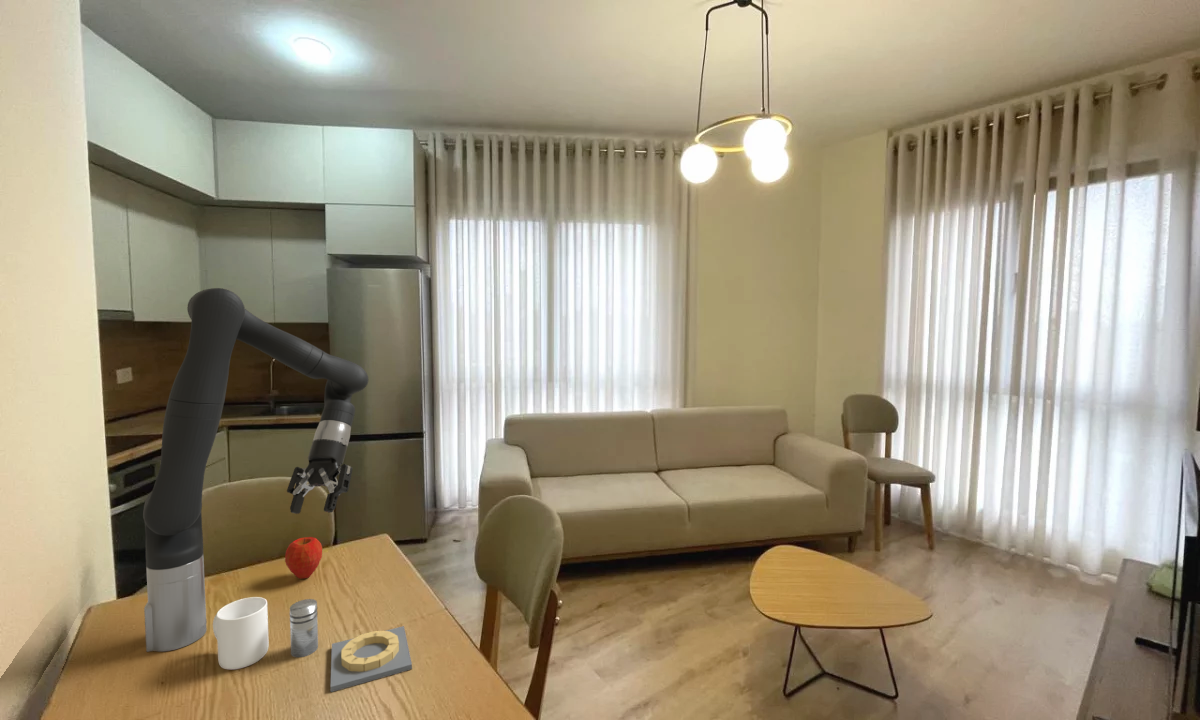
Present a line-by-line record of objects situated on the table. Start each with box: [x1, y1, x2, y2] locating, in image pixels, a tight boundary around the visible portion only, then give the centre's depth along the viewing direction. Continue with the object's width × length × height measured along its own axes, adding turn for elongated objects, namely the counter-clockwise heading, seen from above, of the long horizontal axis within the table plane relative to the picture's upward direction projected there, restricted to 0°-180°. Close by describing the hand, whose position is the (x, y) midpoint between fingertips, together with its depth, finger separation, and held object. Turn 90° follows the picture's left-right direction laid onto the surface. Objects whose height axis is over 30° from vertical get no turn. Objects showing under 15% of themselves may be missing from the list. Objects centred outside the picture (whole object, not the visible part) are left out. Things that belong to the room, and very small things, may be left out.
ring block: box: [330, 625, 413, 693], centre depth 101 cm, size 14×14×2 cm
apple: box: [284, 536, 323, 580], centre depth 132 cm, size 9×8×11 cm
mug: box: [212, 596, 269, 671], centre depth 101 cm, size 12×8×10 cm
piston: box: [289, 598, 319, 658], centre depth 103 cm, size 5×5×10 cm
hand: (311, 512), depth 112 cm, fingers open, 8 cm apart
